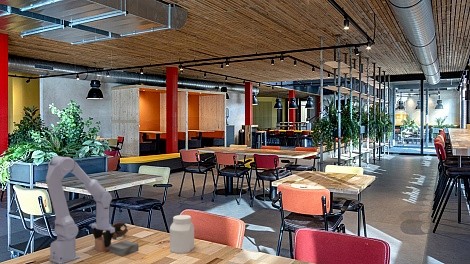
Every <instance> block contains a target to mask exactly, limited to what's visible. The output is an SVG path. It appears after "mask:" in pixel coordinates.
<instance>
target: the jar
mask: <svg viewBox="0 0 470 264" xmlns="http://www.w3.org/2000/svg"><path fill="white" fill-rule="evenodd" d="M172 220H173V221H172V223H171V224H170V227H169V252H171V253H174V254H187V253H191V250H193V249H194V248H195V225H194V223H193V222H192V216H191V215H188V214H178V215H175V216H173V218H172Z"/></svg>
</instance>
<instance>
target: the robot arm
mask: <svg viewBox="0 0 470 264" xmlns="http://www.w3.org/2000/svg"><path fill="white" fill-rule="evenodd" d="M47 164H48V165H47V166H48V169H47V173H46V177H45V182H46V185H47V188H48V193H49V197H50V199H51V204H52V207H53V211H54V214H55V220H54V233H55V234H56V240H54V241H52V242H51V243H50V247H49V251H50V252H49V253H50V254H49V256H50V258H49V259H48V260H49V261H50V262H53V263H55V264H64V263H67V262H71V261H74V260H76V259H80V258H81V256H80V255H77V252H76V249H77V248H76V239H77V238H76V237H77V235H78V234H79V227H78V225H77V224H76V223H75V221H74V219H73V217H72V216H71V215H70V210H69V207H68V203H67V199H66V196H65V192H64V188H63V185H62V180H63V179H64V178H65V176H66V175H68V174H69V173H70V174H72V175H73V176H75V177H76V179H78V180H79V181H81V182H82V183H83V184H84V189H85V190H86V191H87V192H88V193H89V194H90V195H91V197H93V201H95V203H96V206H95V207H96V215H95V217H96V220H95V221H96V223H91V229H92V230H90V231H91V233H92V235H93V237H94V240H95V239H96V238H99V237H102V236H103V237H104V244H105V247H109V245H110V243H111V244H112V240H113V236H114V233H115V228H113V227H112V224H111V223H110V206H111V205H110V204H111V202H112V199H113V197H112V194H111V193H110V192H109V191H106V188H105V187H104V186H102V185H101V184H100V181H99V180H97V179H95V178H93V179H91V178H90V177H89V175H88V174H87V173H86V172H85V171H84V170H83V168H81V167H80V165H79V164H78V162H77V161H75V160H74V159H73V158H71V157H68V156H61V155H56V156H53V157H52V158H51V159H50V161H49V162H48V163H47Z"/></svg>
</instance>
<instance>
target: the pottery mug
mask: <svg viewBox="0 0 470 264" xmlns="http://www.w3.org/2000/svg"><path fill="white" fill-rule="evenodd" d="M111 226H112V227H113V228H115V233H114V235H113V237H112V240H117V239H118V238H121V237H123V236H126V234H127V233H128V232H129V230H128V227H127V225H126V224H125V222H115V223H113V224H111ZM122 227H124V229H122Z"/></svg>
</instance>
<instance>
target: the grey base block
mask: <svg viewBox="0 0 470 264" xmlns="http://www.w3.org/2000/svg"><path fill="white" fill-rule="evenodd" d="M108 250H109V253H111V254H114V255H116V256H121V257H124V256H126V255H130V254H133V253H136V252H138V251H139V243H137V242H135V241H134V242H133V241H130V240H122V241H119V242H115V243H111V245H109V249H108Z"/></svg>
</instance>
